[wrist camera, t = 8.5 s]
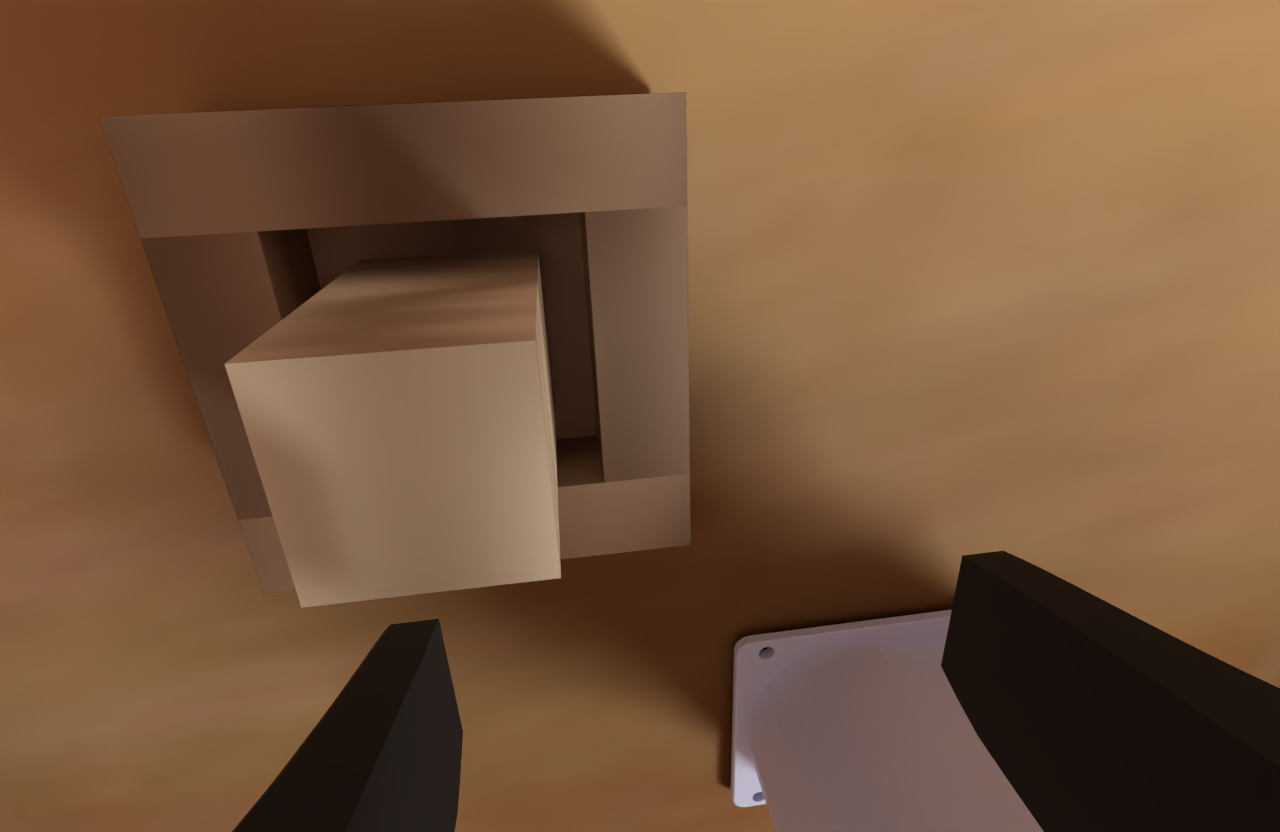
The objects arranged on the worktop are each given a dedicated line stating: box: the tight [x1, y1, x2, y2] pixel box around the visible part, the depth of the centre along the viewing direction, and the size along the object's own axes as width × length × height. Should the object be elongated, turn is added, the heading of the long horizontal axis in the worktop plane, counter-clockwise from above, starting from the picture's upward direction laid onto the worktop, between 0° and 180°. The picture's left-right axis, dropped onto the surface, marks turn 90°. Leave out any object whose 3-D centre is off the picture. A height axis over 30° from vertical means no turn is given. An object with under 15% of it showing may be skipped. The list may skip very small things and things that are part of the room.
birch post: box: [225, 249, 561, 608], centre depth 13 cm, size 4×4×7 cm
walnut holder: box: [98, 92, 691, 593], centre depth 15 cm, size 10×10×3 cm
